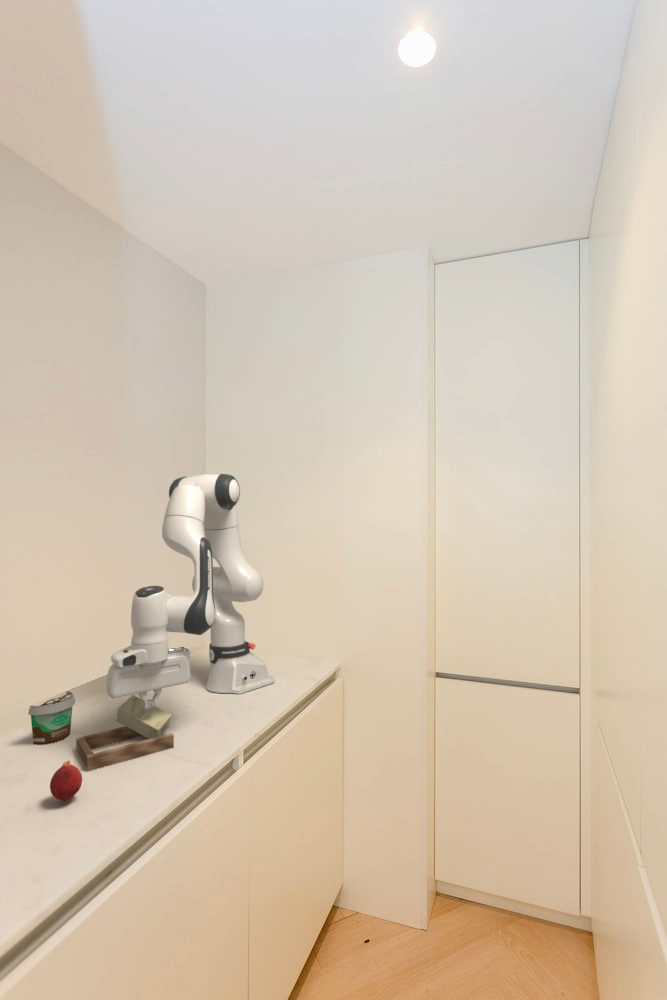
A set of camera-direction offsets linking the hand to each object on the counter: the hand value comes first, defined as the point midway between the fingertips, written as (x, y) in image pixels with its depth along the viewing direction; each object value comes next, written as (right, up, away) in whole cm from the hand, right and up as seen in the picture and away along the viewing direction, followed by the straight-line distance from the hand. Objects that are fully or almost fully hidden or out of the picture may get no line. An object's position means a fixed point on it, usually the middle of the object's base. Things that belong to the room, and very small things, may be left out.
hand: (150, 707), depth 134 cm
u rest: (-5, -9, -4) cm, 11 cm away
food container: (-25, -9, +3) cm, 26 cm away
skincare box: (+3, -6, +2) cm, 7 cm away
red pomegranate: (-8, -9, -27) cm, 29 cm away
